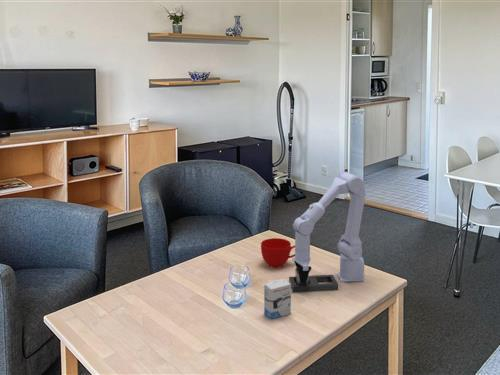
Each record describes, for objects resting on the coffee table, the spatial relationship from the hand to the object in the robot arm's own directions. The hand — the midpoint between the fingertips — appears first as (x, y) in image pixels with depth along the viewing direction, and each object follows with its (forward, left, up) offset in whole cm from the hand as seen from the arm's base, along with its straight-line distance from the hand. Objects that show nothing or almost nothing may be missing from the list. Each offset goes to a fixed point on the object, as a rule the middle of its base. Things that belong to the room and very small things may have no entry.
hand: (302, 279), depth 199 cm
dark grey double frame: (-4, 0, -3) cm, 5 cm away
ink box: (+13, +20, -3) cm, 24 cm away
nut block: (0, 0, -2) cm, 2 cm away
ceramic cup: (+6, -22, -3) cm, 23 cm away
